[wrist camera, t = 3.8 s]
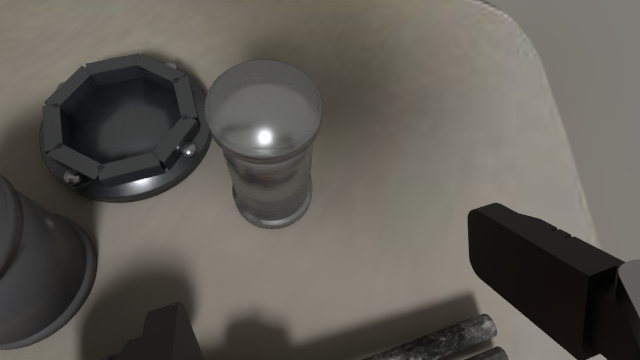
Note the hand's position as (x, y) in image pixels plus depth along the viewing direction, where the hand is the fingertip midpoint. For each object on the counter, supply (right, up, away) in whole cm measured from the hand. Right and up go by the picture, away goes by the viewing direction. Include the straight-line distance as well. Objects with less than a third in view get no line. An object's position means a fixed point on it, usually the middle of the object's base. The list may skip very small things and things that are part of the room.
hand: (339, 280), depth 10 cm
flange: (-14, +6, +17) cm, 22 cm away
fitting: (-4, +2, +15) cm, 16 cm away
